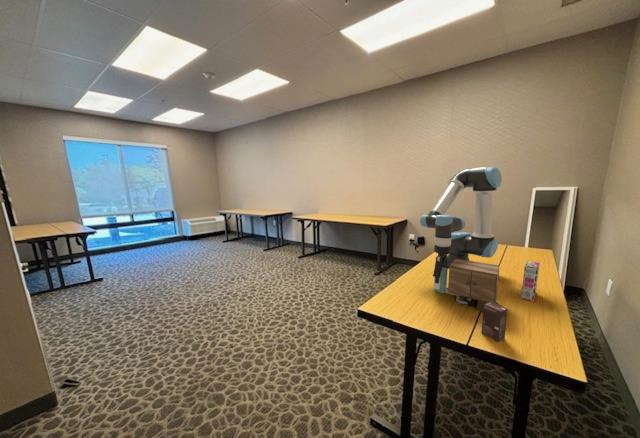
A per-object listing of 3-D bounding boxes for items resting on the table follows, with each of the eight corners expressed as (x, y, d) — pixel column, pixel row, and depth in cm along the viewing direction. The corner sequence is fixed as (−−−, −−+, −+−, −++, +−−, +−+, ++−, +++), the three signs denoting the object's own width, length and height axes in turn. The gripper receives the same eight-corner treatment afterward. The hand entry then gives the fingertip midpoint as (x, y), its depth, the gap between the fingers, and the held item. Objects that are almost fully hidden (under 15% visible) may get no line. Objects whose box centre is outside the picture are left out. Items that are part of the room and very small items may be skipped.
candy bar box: (534, 301, 114) (538, 268, 112) (520, 298, 118) (524, 265, 115) (536, 293, 122) (540, 262, 120) (523, 290, 125) (526, 260, 123)
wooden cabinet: (453, 292, 126) (455, 258, 123) (496, 302, 114) (499, 265, 112) (446, 303, 114) (448, 266, 111) (493, 316, 103) (497, 275, 100)
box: (480, 333, 91) (483, 303, 89) (488, 330, 93) (490, 301, 91) (497, 343, 86) (500, 311, 84) (505, 339, 88) (508, 308, 86)
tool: (436, 287, 132) (437, 266, 130) (475, 296, 120) (477, 273, 118) (433, 290, 128) (434, 268, 126) (473, 300, 116) (475, 276, 115)
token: (457, 299, 119) (457, 294, 118) (471, 302, 115) (471, 298, 114) (454, 303, 114) (455, 299, 114) (469, 307, 110) (469, 303, 110)
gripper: (440, 239, 136) (438, 275, 139) (427, 249, 117) (425, 290, 120) (455, 241, 132) (453, 278, 135) (444, 251, 113) (442, 294, 116)
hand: (440, 284), depth 128 cm, fingers open, 13 cm apart
